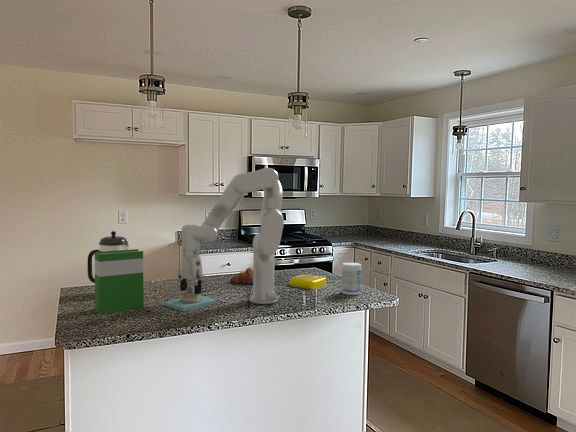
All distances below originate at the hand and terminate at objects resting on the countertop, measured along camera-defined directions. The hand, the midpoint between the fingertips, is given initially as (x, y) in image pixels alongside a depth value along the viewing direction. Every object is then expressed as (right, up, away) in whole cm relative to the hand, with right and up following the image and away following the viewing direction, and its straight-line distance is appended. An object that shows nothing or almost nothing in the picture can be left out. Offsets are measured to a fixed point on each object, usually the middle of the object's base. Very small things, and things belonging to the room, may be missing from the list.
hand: (190, 292), depth 194 cm
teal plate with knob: (0, -5, 0) cm, 5 cm away
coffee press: (-41, -4, +16) cm, 44 cm away
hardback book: (-28, -6, -8) cm, 30 cm away
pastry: (+22, -3, +47) cm, 52 cm away
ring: (0, -3, 0) cm, 3 cm away
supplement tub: (+74, -5, +25) cm, 78 cm away
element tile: (+53, -4, +42) cm, 68 cm away
